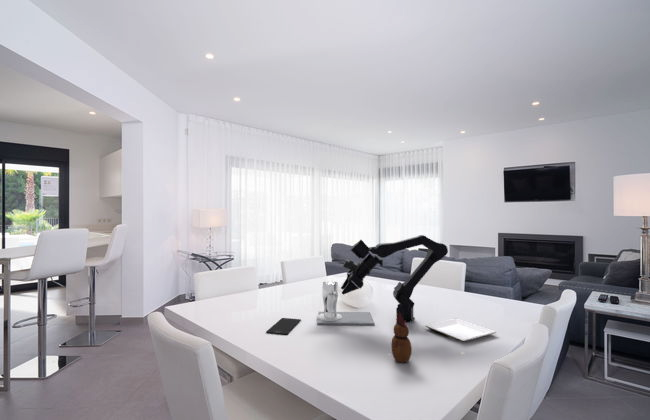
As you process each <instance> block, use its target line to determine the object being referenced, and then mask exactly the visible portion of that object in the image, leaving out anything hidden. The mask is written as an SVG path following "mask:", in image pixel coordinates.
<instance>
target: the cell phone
mask: <svg viewBox="0 0 650 420" xmlns="http://www.w3.org/2000/svg"><path fill="white" fill-rule="evenodd" d="M300 322H302V320H301V318H288V317H281V318H280V319H279V320H278V321H277V322H276V323H274V324H273V325H272V326H271V327H270V328H269V329H268V330H266V331H265V333H266V334H269V335H270V334H271V335H278V336H279V335H280V336H288V335H289V334H290V333H291V332H292V331H293V330H294V329H295V328H296V327H297V326H298V325H299V324H300Z"/></svg>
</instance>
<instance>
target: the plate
mask: <svg viewBox="0 0 650 420" xmlns="http://www.w3.org/2000/svg"><path fill="white" fill-rule="evenodd" d="M424 326H425V327H426V328H428V329H430V330H432V331H435V332H438V333H439V334H442V335H445V336H447V337H449V338H450V337H451V338H452V339H455V340H456V341H457V340H458V341H460V342H464V343H465V342H468V341H471V340H475V339H480V338H482V337H486V336H490V335H491V336H492V335H494V334H496V333H497V331H495V330H492V329H489V328H487V327H483V326H480V325H478V324H474V323H471V322H469V321H465V320H462V319H459V318H452V319H451V318H450V319H446V320H441V321H436V322H432V323H428V324H424Z"/></svg>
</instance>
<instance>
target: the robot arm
mask: <svg viewBox="0 0 650 420" xmlns="http://www.w3.org/2000/svg"><path fill="white" fill-rule="evenodd" d="M417 246H418V247H419V246H423V247H425V248H426V249H428V250H427V252H426V256H425V257H424V258H423V260H422V261H421V262H420V263H419V265H418V266H417V267H416V268H415V270H414V271H413V272H412V273H411V274H410V275H409V277H408V278H407V279H406V280H405V281H404V282H401V281H399V282H397V285H396V286H395V287H393V289H394V290H393V292H392V296H393V298H394V299H395V300H396V302H397V303H398V304H397V306H396V308H395V309H396V310H395V311H396V316H395V317H396V319H395V320H397V311H398V314H399V317H400V314H401V318H403V321H405V323H407V322H408V323H411V322H412V321H414V320H415V319H416V318H415V317H414V306H415V302H414V301H413V300H412V299H411V297H412V294H413V291H414V290H415V289H414V288H415V287H416V286H417V285H418V284H419V283H420V281H421V280H422V279H423V277H425V275H426V274H427V273H428V272H429V271H430V269H431V268H432V267H433V266H434V264H436V263H437V262H439V261H441V260H442V259H443V258H444V257H446V256H447V255H448V251H449V250H448V246H447V245H446V244H444V243H441V242H436V241H434V240H433V239H430V238H429V237H427V236H426V235H423V234H421V235H418V236H414V237H411V238H406V239H403V240H399V241H395V242H383V243H377V244H376V245H375V246H368V245H367V244H366V243H365V242H364V241H363V240H362V239H360V240H359V241H357V242H356V243H355V244H354V245H352V246H351V248H350V251H351V252H352V254H353V255H355V256H356V257H357V258H358V259H362V261H361V262H358V263H355V262H354V260H351V259H350V260H349V259H345V260H344V262H343V264H342V267H343V268H344V269H348V270H347V272H346V279H345V281H344V282H343V283H342V285H341V288H340V289H341V290H342V291H341V294H342V295H346V294H349V293H351V292H354V291H356V290H361V289H362V288H363V287H364V280H365V278H366V277H367V276H368V275H370V274H371V272H372V270H373V269H374V268H375V267H376V266H378V265H380V266H381V267H383V266H384V264H383V261H384V260H383V258H387V257H389V256H391V255H393V254H395V253H397V252H399V251H403V250H406V249H410V248H414V247H417ZM371 253H372V254H371ZM379 258H381V259H379Z"/></svg>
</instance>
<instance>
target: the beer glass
mask: <svg viewBox="0 0 650 420" xmlns="http://www.w3.org/2000/svg"><path fill="white" fill-rule="evenodd" d="M338 286H339V285H338V281H333V280H326V281H323V282H322V288H321V289H322V294H321V296H322V301H323V307H324V309H323V312H324V315H323V317H324V318H328V319H333V318H336V317H337V312H338V311H337V303H338V298H339V287H338Z"/></svg>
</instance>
